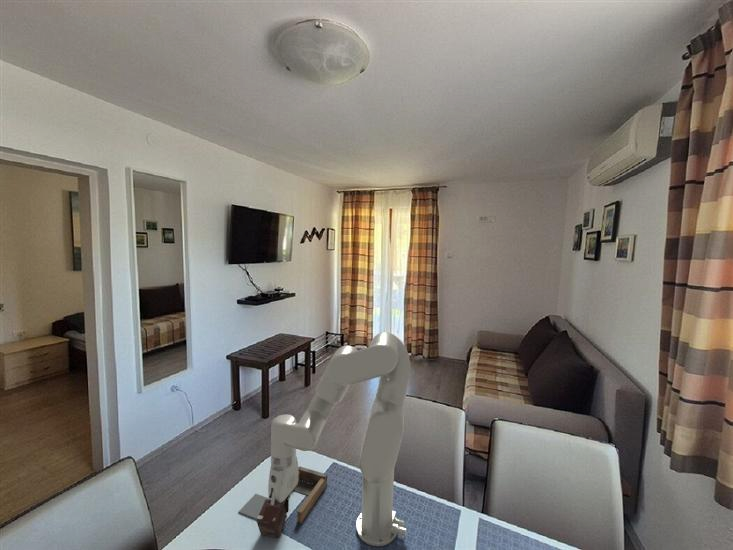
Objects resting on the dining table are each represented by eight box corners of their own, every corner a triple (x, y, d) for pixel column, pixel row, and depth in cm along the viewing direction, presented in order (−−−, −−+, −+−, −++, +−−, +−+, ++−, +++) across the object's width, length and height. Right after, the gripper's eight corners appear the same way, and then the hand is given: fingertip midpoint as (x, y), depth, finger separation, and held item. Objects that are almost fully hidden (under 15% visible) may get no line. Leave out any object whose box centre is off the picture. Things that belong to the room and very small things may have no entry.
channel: (327, 484, 112) (327, 474, 112) (301, 523, 96) (301, 511, 96) (299, 476, 116) (299, 466, 116) (270, 511, 100) (270, 500, 100)
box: (287, 516, 96) (284, 501, 93) (279, 539, 91) (275, 524, 88) (269, 513, 97) (265, 498, 94) (260, 535, 92) (255, 520, 89)
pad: (275, 501, 104) (275, 500, 104) (259, 520, 97) (259, 519, 97) (255, 494, 107) (255, 493, 107) (238, 512, 100) (238, 511, 100)
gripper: (278, 476, 88) (277, 536, 90) (306, 445, 102) (305, 498, 103) (257, 468, 91) (256, 527, 92) (287, 440, 105) (286, 491, 106)
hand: (282, 512), depth 98 cm, fingers closed
